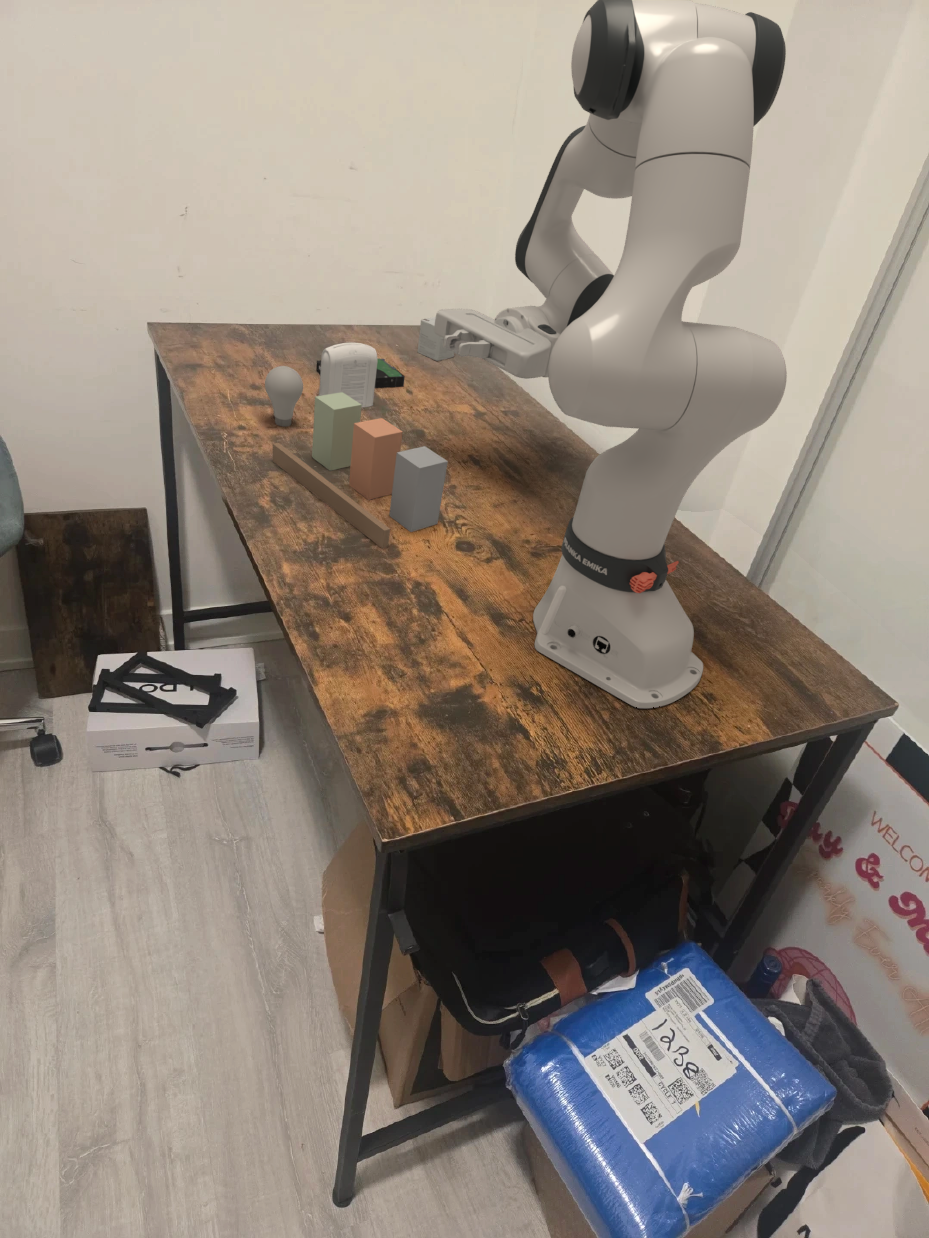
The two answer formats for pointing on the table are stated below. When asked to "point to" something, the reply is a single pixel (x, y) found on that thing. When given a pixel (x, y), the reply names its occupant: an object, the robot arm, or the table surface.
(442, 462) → the blue-grey block
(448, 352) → the skincare box
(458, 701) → the table surface
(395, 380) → the disk drive
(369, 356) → the photo printer
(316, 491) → the cream board with rail
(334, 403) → the sage green block
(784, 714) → the table surface
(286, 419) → the lightbulb
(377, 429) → the terracotta rectangular block
